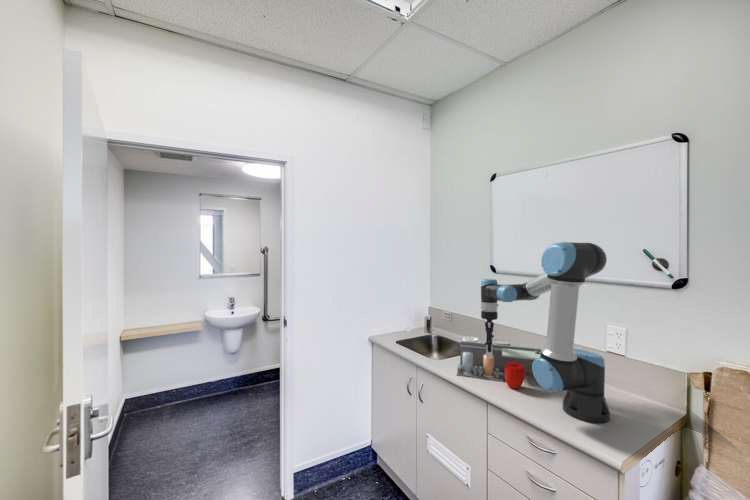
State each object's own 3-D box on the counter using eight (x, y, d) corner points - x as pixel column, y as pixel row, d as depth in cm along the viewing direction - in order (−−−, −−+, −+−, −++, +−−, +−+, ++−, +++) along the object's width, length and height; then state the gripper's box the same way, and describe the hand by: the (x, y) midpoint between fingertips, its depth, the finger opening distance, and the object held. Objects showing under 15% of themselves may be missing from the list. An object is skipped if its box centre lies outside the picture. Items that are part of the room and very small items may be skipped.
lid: (544, 361, 148) (544, 356, 148) (502, 356, 154) (502, 352, 154) (541, 353, 159) (541, 349, 159) (501, 349, 165) (501, 345, 165)
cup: (486, 356, 187) (486, 339, 187) (468, 359, 183) (468, 341, 183) (477, 352, 195) (477, 335, 195) (460, 354, 191) (460, 337, 191)
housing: (546, 387, 146) (546, 359, 146) (456, 375, 159) (456, 349, 159) (541, 373, 162) (541, 348, 162) (460, 363, 175) (460, 340, 175)
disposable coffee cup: (491, 365, 173) (492, 343, 172) (491, 360, 182) (491, 338, 182) (511, 368, 170) (511, 345, 170) (509, 362, 179) (510, 340, 179)
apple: (523, 393, 140) (523, 368, 140) (502, 388, 144) (502, 364, 144) (526, 386, 147) (526, 362, 147) (506, 381, 152) (506, 358, 152)
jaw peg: (483, 375, 157) (483, 356, 157) (483, 371, 162) (483, 353, 162) (494, 376, 156) (494, 358, 156) (494, 373, 160) (494, 354, 160)
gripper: (497, 315, 146) (498, 363, 145) (497, 307, 169) (497, 348, 169) (480, 314, 148) (480, 361, 148) (482, 306, 172) (482, 346, 171)
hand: (489, 354), depth 158 cm, fingers open, 13 cm apart
